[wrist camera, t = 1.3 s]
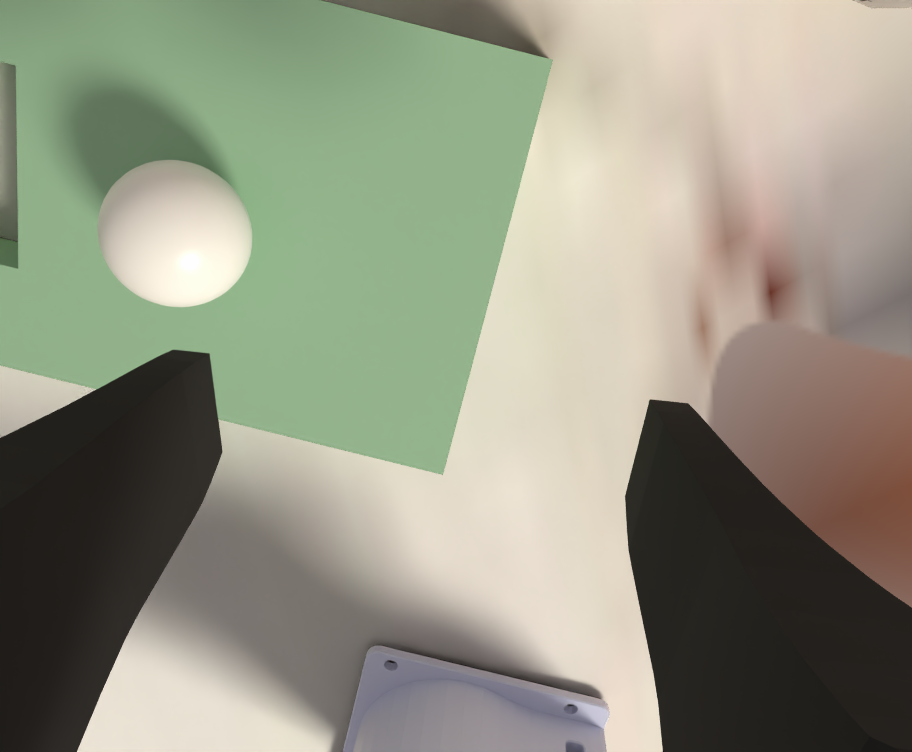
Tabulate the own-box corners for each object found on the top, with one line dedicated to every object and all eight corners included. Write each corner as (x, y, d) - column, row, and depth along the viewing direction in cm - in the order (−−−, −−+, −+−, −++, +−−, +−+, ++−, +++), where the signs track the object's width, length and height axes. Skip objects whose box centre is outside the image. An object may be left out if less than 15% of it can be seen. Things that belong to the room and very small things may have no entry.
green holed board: (549, 60, 19) (555, 59, 16) (449, 443, 24) (437, 501, 21) (-266, -151, 19) (-426, -193, 16) (-205, 281, 24) (-317, 315, 21)
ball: (279, 170, 19) (228, 193, 16) (262, 298, 21) (213, 343, 17) (145, 136, 19) (66, 152, 16) (137, 266, 21) (64, 305, 17)
